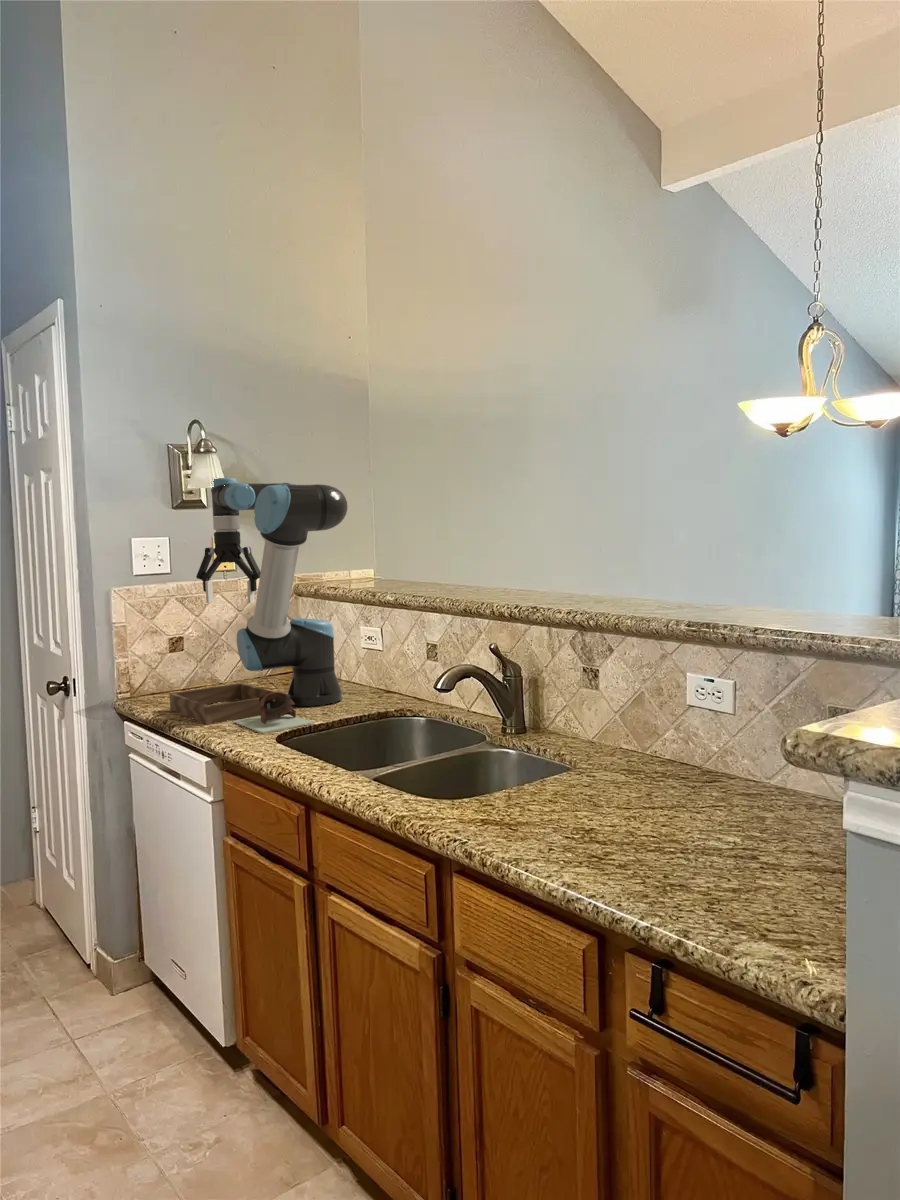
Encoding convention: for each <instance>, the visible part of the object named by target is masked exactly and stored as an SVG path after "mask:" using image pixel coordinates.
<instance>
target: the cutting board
mask: <svg viewBox="0 0 900 1200" xmlns="http://www.w3.org/2000/svg"><path fill="white" fill-rule="evenodd" d="M235 723H237V724H236V725H238V724H239V725H238V726H240V725H242V726H241V727H243V726H245V727H244V728H246V727H247V728H246V729H248V728H250V729H249V730H251V729H252V730H251V731H253V730H255V731H254V732H256V731H258V732H257V733H259V732H260V733H259V734H261V733H266V734H270V733H275V732H280V731H285V730H284V729H287V730H290V729H289V728H292V729H294V728H293V727H297V728H299V727H298V726H301V725H305V724H311V723H314V721H311V720H307V719H305V718H301V717H298V716H296V717H295V718H294V717H293V716H291V715H284V716H281V717H280V718H277V719H272V720H268V721H266V723H265V724H264V723H263V722H261V715H260V716H254V717H248V718H243V719H237V720H233V724H235ZM314 724H315V723H314ZM269 732H270V733H269Z"/></svg>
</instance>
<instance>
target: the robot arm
mask: <svg viewBox="0 0 900 1200" xmlns="http://www.w3.org/2000/svg"><path fill="white" fill-rule="evenodd" d="M217 478H218V477H217ZM213 479H214V481H213V482H214V487H212V488H211V487H210V492H211V505H212V523H213V525H212V526H213V530H214V533H213V542H214V543H213V544H214V548H212V547H205V548H204V555H203V558H202V561H201V563H200V567H199V568H198V571H197V574H196V579H197V580H201V581H202V588H203V590H202V591H203V592H205V602H206V604H210V603H214V592H213V591H214V590H213V589H214V588H213V580H211V578H212V577H213V575H214V573H216V571H217V570H218V568H219V566H220V565H221V564H225V563H234V564H236V566H238V568H239V569H240V570H241V571H242V572H243V573H244V574H245V576H246V577H247V578H248V580H246V587H247V588H246V589H247V604H252V603H255V606H254V611H253V612H254V613H253V615H251V616H250V617H248V619H247V621H246V627H245V628H244V627H242V628H240V629H238V630H237V632H236V647H237V652H238V655H239V659H240V662H241V664H242V666H243V667H244V668H245V669H246V670H247V671H250V672H257V671H260V672H262V671H265V670H275V669H276V670H277V669H282V668H285V669H286V668H290V667H292V677H291V681H290V683H289V688H288V692H287V695H288V696H289V698H290V699H291V700H292V701H293V702H294V703H295V705H294V706H297V707H316V706H315V705H320V706H324V705H323V704H328V705H331V704H330V703H333V704H335V703H334V702H337V701H339V700H341V699H342V700H343V691H342V689H341V685H340V683H339V680H338V678H337V675H336V671H335V669H336V668H335V644H334V643H335V642H334V640H335V639H334V638H335V636H334V628H333V624H332V623H331V622H330V621H328V620H324V619H315V618H299V617H298V618H297V617H296V618H295V617H294V618H291V619H290V620H289V621H288V620H287V619H288V613H289V608H290V602H291V596H292V591H293V585H294V584H293V583H294V578H295V572H296V569H297V567H296V566H297V560H298V556H299V549H300V547H301V546H302V545H304V544H305V543H306V541H307V539H308V533H309V532H317V531H319V532H321V531H327V530H330V529H333V528H336V527H337V526H338V525H340V524H341V523H342V522H343V520H344V519H345V517H346V515H347V511H348V501H347V498H346V496H345V495H344V492H342V491H341V490H340V489H338V488H337V487H335V486H331V485H327V484H296V483H290V482H281V483H276V482H275V483H262V482H261V483H244V482H238V479H236V478H235V477H219V478H218V479H215V478H213ZM224 485H225V486H224ZM252 510H253V514H254V524H255V527H256V529H257V530H258V531H259V532H260V537H261V538H262V539H264V546H263V553H262V559H261V565H260V567H261V568H259V566H258V564H257V561H256V559H255V558H254V556H253V554H252V548H251V547H250V546H244V547H241V532H240V531H239V530H240V524H241V523H240V511H252ZM214 554H215V558H214V559H213V561H212V563H211V560H212V558H213V555H214ZM241 554H242V555H243V556H244V558H245V560H246V562H247V563H246V562H245V560H244V559H243V558H242V557H241ZM210 563H211V565H210ZM247 564H248V565H247ZM257 580H258V585H257ZM255 592H257V594H256V600H255ZM342 700H341V701H342ZM339 702H340V701H339ZM337 703H338V702H337Z"/></svg>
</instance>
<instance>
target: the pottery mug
mask: <svg viewBox="0 0 900 1200" xmlns="http://www.w3.org/2000/svg"><path fill="white" fill-rule="evenodd" d="M273 699H276V701H273ZM259 702H260V712H261V715H260V716H261V722H263V723H264V724H265V723H266V721H268V720H272V719H277V718H280V717H281V716H284V715H291V716H293V717H294V718H295V717H297V716H296V715H297V712H296V710H295V709H294V708H293V707H292V706H296V705H295V703H294V702H293V701H292V700H291V699H290V698H289V696H288V693H285V692H283V691H273V692H272V693H269V694H267V695H262V696H260V698H259Z"/></svg>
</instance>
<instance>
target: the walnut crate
mask: <svg viewBox="0 0 900 1200" xmlns="http://www.w3.org/2000/svg"><path fill="white" fill-rule="evenodd" d="M272 692H274V691H272V690H269V689H265V688H262V687H259V686H254V685H252V684H249V683H246V682H238V683H237V682H236V683H231V684H225V685H217V686H211V687H210V686H209V687H205V688H199V689H197V688H196V689H192V690H184V691H179V692H178V691H177V692H172V693H170V692H169V707H170V708H169V709H171V710H170V711H172V710H173V711H172V712H175V711H176V712H175V713H177V712H178V714H179V713H181V714H180V715H182V714H183V715H182V716H184V715H185V717H187V716H188V717H187V718H189V717H191V718H190V719H192V718H193V719H192V720H194V719H196V720H195V721H197V720H198V721H197V722H199V721H201V722H200V723H202V722H203V723H202V724H204V723H206V724H205V725H207V724H209V725H211V724H210V723H215V722H220V723H223V722H222V721H226V722H228V721H227V720H232V721H235V720H234V719H237V720H241V719H240V718H243V719H247V718H246V717H248V718H253V717H252V716H254V717H258V716H257V715H260V716H261V712H260V702H259V698H260V696H262V695H267V694H269V693H272ZM236 699H240V700H236ZM242 699H244V700H242ZM230 700H234V701H230ZM224 701H228V702H224ZM273 701H276V699H273ZM218 702H221V703H218ZM211 703H215V704H211ZM205 704H209V705H205ZM215 724H216V723H215Z"/></svg>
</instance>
